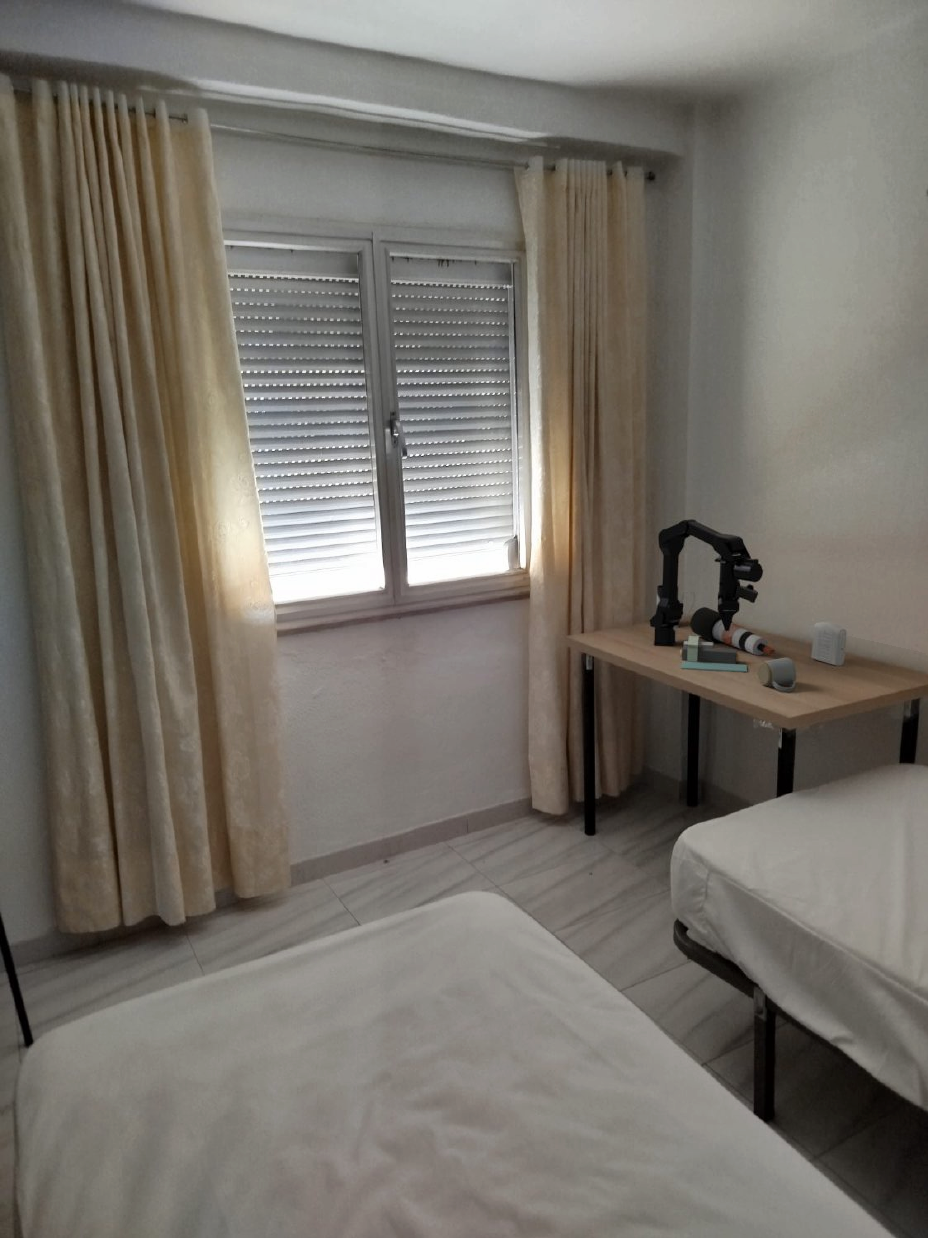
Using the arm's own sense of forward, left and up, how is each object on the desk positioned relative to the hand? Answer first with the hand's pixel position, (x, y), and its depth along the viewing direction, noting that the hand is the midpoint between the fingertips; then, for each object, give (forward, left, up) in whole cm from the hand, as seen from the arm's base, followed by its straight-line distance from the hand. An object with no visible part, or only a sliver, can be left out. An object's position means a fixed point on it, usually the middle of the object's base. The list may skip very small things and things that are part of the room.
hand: (727, 627), depth 247 cm
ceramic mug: (+14, -23, -11) cm, 30 cm away
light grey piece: (-10, +3, -11) cm, 15 cm away
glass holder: (-18, +46, -11) cm, 51 cm away
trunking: (-8, +6, -11) cm, 15 cm away
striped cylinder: (+3, +19, -11) cm, 22 cm away
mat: (-3, -8, -11) cm, 14 cm away
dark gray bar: (-5, 0, -11) cm, 12 cm away
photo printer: (+30, +6, -11) cm, 33 cm away
